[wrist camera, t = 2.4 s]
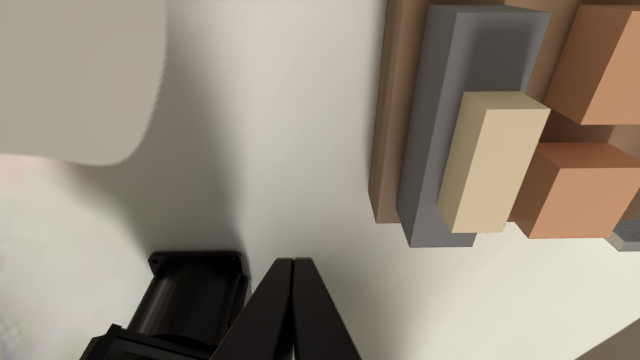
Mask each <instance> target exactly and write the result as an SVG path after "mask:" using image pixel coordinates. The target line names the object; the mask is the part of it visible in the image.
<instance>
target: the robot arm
mask: <svg viewBox="0 0 640 360" xmlns="http://www.w3.org/2000/svg"><path fill="white" fill-rule="evenodd" d="M233 258H236V259H233ZM156 259H157V260H156ZM148 262H149V265H150V267H151V270H152V272H153V275H154V277H153V279H152V281H151V283H150V285H149V287H148V288H147V290H146V292H145V294H144V296H143V298H142V300H141V302H140V304H139V306H138V308H137V310H136V312H135V314H134V315H133V317H132V319H131V321H130V323H129V325H128V327H127V329H124V328H121V327H122V326H120V325H116V324H112V325H111V326H110V328H109V330H108V331H107V333H106V334H104V335H103V336H102V335H101V336H98V337H93V338H92V339H91V341H90V343H89V344H88V346H87V348H86V349H85V351H84V353H83V354H82V356H81V358H80V359H79V360H293V350H294V358H295V360H362V358H361V356H360V354H359V352H358V350H357V348H356V346H355V344H354V342H353V340H352V338H351V336H350V334H349V332H348V330H347V328H346V326H345V324H344V322H343V320H342V318H341V316H340V314H339V312H338V310H337V308H336V306H335V304H334V302H333V300H332V298H331V296H330V294H329V292H328V290H327V288H326V286H325V284H324V282H323V280H322V278H321V276H320V274H319V272H318V270H317V268H316V266H315V264H314V262H313V260H312V259H311V258H310V257H298V258H295V259H294V260H293V258H277V259H276V260H275V261H274V263H273V264H272V266H271V267H270V269H269V270H268V272H267V273H266V275H265V276H264V278H263V279H262V281H261V282H260V284H259V285H258V287H257V288H256V290H255V291H254V293H253V295H252V290H251V284H250V278H249V277H248V276H247V275H245V272H244V266H243V260H242V256H241V254H240V253H239V252H236V251H219V252H155V253H152V254H151V256H150V257H149V259H148Z"/></svg>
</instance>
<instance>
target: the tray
mask: <svg viewBox="0 0 640 360" xmlns="http://www.w3.org/2000/svg"><path fill="white" fill-rule="evenodd" d="M604 239H605V240H606V241H608V242H609V243H610V244H611V245H612V246H613V247H614V248H615V249H616V250H617V251H619V252H625V251H640V213H639V214H638V216H637V217H636V219H635V220H619V221H618V223H617V224H616V226H615V227H614V229H613V231H612V232H611V234H610V235H609V237H608V238H604Z"/></svg>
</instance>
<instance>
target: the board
mask: <svg viewBox="0 0 640 360" xmlns="http://www.w3.org/2000/svg"><path fill="white" fill-rule="evenodd" d="M428 5H510V6H516V7H522V8H528V9H534V10H540V11H546V12H552V14H551V17H550V20H549V23H548V26H547V29H546V32H545V35H544V38H543V41H542V44H541V47H540V50H539V52H538V55H537V58H536V61H535V64H534V67H533V70H532V73H531V76H530V79H529V82H528V85H527V88H526V91H525V93H524V94H525V95H527V96H529V97H531V98H532V99H534V100H536V101H538V102H539V103H541V104H543V101H544V98H545V96H546V93H547V91H548V88H549V85H550V83H551V80H552V77H553V75H554V72H555V69H556V67H557V64H558V61H559V59H560V56H561V53H562V51H563V48H564V45H565V43H566V40H567V38H568V35H569V32H570V30H571V27H572V24H573V22H574V19H575V16H576V14H577V11H578V8H579V6H580V5H640V0H388V1H387V12H386V22H385V32H384V42H383V52H382V62H381V72H380V82H379V92H378V102H377V112H376V122H375V132H374V142H373V152H372V162H371V172H370V182H369V192H368V194H369V198H370V201H371V205H372V209H373V213H374V217H375V221H376V223H401V222H400V219H399V216H398V214H397V211H396V206H397V199H398V193H399V187H400V181H401V174H402V168H403V162H404V155H405V149H406V143H407V136H408V130H409V124H410V118H411V111H412V105H413V99H414V92H415V86H416V80H417V74H418V67H419V61H420V55H421V48H422V42H423V36H424V30H425V23H426V17H427V11H428ZM543 105H545V104H543ZM545 106H546V105H545ZM546 107H548V106H546ZM548 108H550V107H548ZM550 109H551V111H550V113H549V116H548V118H547V121H546V123H545V126H544V128H543V131H542V133H541V136H540V138H539V141H538V143H575V142H608V143H610V144H612V145H613V146H615V147H617V148H619V149H620V150H622V151H624V152H626V153H627V154H629V155H631V156H633V157H634V158H636V159H638V160H640V124H621V125H580V124H578V123H576V122H575V121H573V120H571V119H569V118H568V117H566V116H564V115H562V114H561V113H559V112H557V111H555V110H553V109H552V108H550ZM639 213H640V188H639V189H638V191H637V193H636V194H635V196H634V197H633V199H632V200H631V202H630V204H629V205H628V207H627V208H626V210H625V212H624V213H623V215H622V216H621V218H620V220H635V219H636V217H637V216H638V214H639ZM507 222H514V221H513V219H512V218H511V217H510V216H509V217H508V219H507Z"/></svg>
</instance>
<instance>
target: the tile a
mask: <svg viewBox="0 0 640 360" xmlns="http://www.w3.org/2000/svg"><path fill="white" fill-rule="evenodd" d="M639 188H640V160H638V159H636V158H634V157H633V156H631V155H629V154H627V153H626V152H624V151H622V150H620V149H619V148H617V147H615V146H613V145H612V144H610V143H608V142H575V143H537V146H536V149H535V151H534V154H533V156H532V159H531V161H530V164H529V166H528V169H527V171H526V174H525V176H524V179H523V181H522V184H521V186H520V189H519V192H518V194H517V197H516V199H515V202H514V204H513V207H512V209H511V212H510V214H509V216H510V217H511V218H512V219H513V221H514V222H515V223H516V224H517V225H518V227H519V228H520V229H521V230H522V232H523V233H524V234H525V235H526V237H527V238H528V239H547V238H608V237H609V235H610V234H611V232H612V231H613V229H614V227H615V226H616V224H617V223H618V221H619V220H620V218H621V216H622V215H623V213H624V212H625V210H626V208H627V207H628V205H629V204H630V202H631V200H632V199H633V197H634V196H635V194H636V193H637V191H638V189H639Z"/></svg>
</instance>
